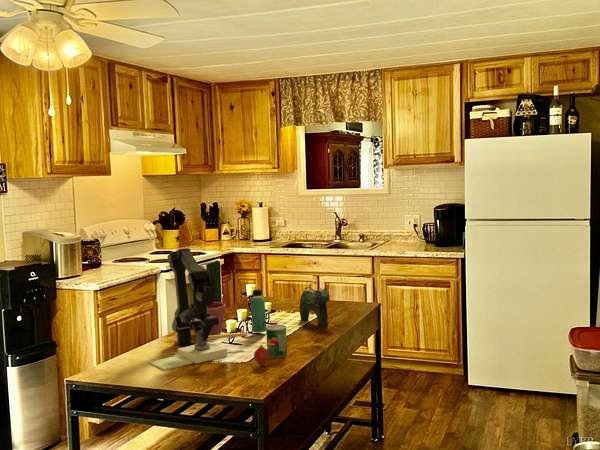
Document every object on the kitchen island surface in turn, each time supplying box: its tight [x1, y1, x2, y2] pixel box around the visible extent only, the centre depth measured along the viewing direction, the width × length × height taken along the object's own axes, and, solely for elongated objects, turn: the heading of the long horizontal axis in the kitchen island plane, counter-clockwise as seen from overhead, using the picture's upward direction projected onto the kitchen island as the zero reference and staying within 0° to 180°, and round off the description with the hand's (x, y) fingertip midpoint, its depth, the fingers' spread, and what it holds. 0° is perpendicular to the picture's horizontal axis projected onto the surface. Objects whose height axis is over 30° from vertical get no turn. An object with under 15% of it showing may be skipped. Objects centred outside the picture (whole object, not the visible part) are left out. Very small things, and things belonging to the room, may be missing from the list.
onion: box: [253, 344, 271, 367], centre depth 243 cm, size 6×6×8 cm
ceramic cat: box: [299, 281, 331, 327], centre depth 308 cm, size 20×6×20 cm, turn 34°
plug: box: [193, 330, 210, 351], centre depth 259 cm, size 6×6×10 cm
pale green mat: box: [148, 355, 193, 371], centre depth 251 cm, size 12×12×1 cm
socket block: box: [177, 341, 228, 364], centre depth 259 cm, size 14×14×5 cm
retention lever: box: [207, 331, 248, 341], centre depth 268 cm, size 20×2×1 cm, turn 103°
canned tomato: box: [265, 324, 288, 358], centre depth 257 cm, size 8×8×11 cm
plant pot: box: [207, 301, 227, 336], centre depth 296 cm, size 14×14×13 cm
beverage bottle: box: [250, 288, 267, 334], centre depth 290 cm, size 6×7×20 cm
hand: (201, 339), depth 259 cm, fingers open, 5 cm apart
